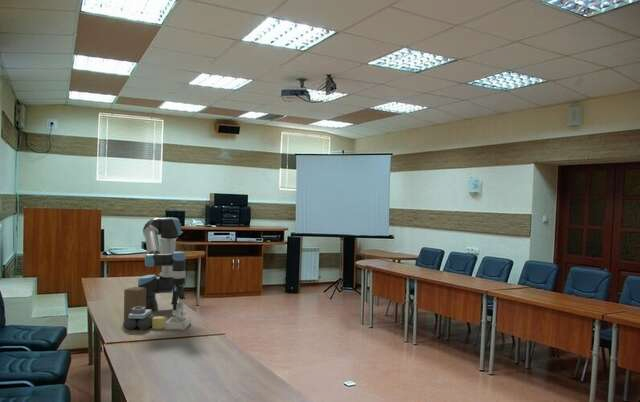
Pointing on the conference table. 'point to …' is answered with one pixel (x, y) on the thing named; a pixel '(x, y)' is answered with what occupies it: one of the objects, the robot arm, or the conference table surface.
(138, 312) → the grey plate on cylinders
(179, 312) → the pin
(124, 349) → the conference table surface
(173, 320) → the tray
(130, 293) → the block
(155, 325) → the yellow cube
